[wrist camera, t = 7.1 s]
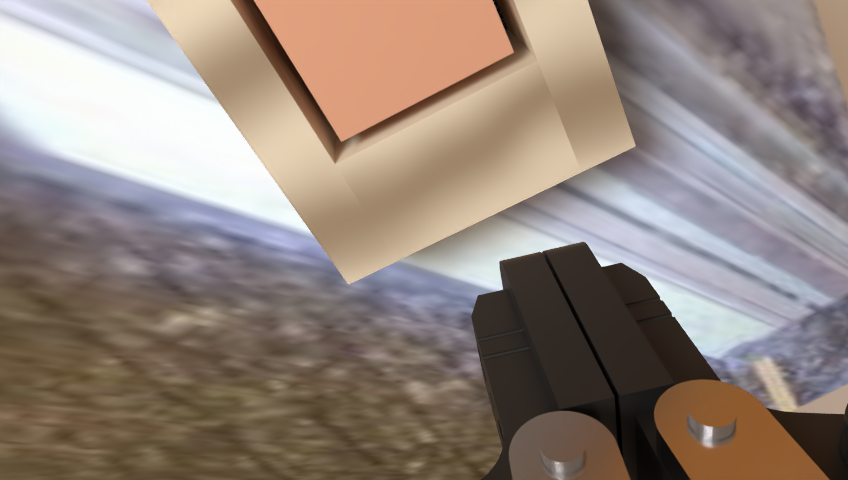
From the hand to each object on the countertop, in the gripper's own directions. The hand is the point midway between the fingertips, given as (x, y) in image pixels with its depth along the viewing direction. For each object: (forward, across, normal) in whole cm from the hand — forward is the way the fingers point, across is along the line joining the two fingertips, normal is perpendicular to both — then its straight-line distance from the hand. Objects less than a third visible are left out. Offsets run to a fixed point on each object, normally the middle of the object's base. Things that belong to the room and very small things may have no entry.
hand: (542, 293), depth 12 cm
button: (+19, +2, -2) cm, 20 cm away
